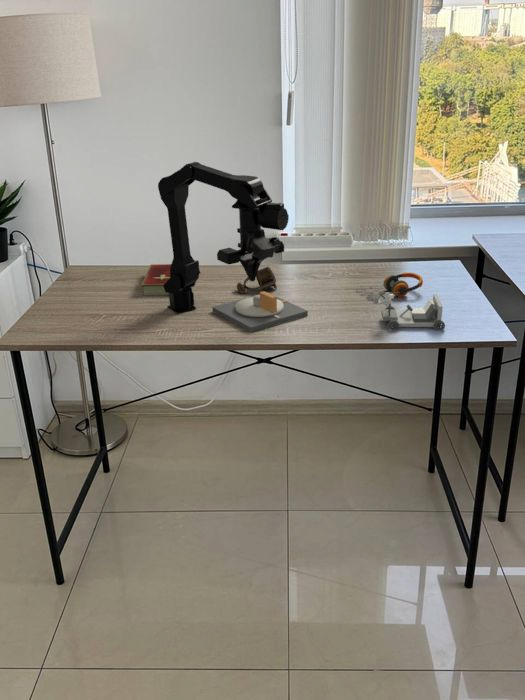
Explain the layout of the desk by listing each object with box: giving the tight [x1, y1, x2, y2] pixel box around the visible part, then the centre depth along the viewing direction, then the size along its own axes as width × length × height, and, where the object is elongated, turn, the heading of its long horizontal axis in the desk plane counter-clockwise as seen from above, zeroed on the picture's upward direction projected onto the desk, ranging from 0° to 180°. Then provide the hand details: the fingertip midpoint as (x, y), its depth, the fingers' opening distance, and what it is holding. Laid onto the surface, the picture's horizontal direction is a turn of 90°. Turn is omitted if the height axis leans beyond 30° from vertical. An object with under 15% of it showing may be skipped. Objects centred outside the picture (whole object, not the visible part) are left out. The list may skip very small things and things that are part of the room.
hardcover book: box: [140, 263, 172, 296], centre depth 240 cm, size 12×21×4 cm, turn 0°
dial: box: [236, 290, 284, 317], centre depth 213 cm, size 14×14×6 cm
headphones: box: [355, 272, 424, 304], centre depth 226 cm, size 16×5×20 cm
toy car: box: [377, 291, 446, 331], centre depth 205 cm, size 18×10×12 cm
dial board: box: [212, 291, 309, 333], centre depth 215 cm, size 20×20×2 cm
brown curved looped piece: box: [236, 266, 278, 294], centre depth 233 cm, size 7×13×10 cm
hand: (252, 280), depth 202 cm, fingers closed
